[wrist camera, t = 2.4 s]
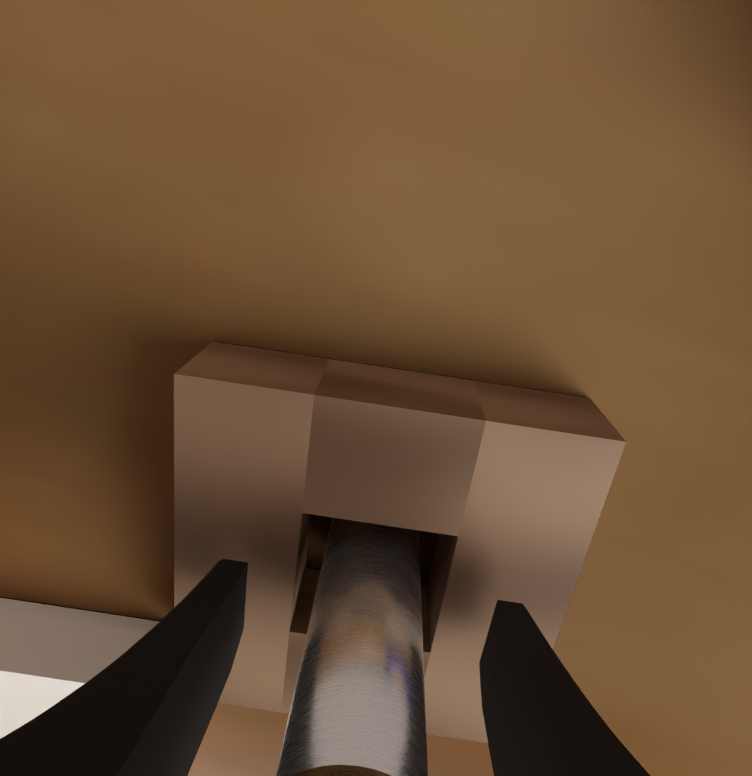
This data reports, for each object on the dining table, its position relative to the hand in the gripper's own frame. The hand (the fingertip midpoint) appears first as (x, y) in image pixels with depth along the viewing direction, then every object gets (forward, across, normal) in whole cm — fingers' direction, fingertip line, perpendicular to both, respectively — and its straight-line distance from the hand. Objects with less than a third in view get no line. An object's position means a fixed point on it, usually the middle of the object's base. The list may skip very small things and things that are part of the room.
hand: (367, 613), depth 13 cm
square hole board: (+3, 0, 0) cm, 3 cm away
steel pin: (+3, 0, 0) cm, 3 cm away
